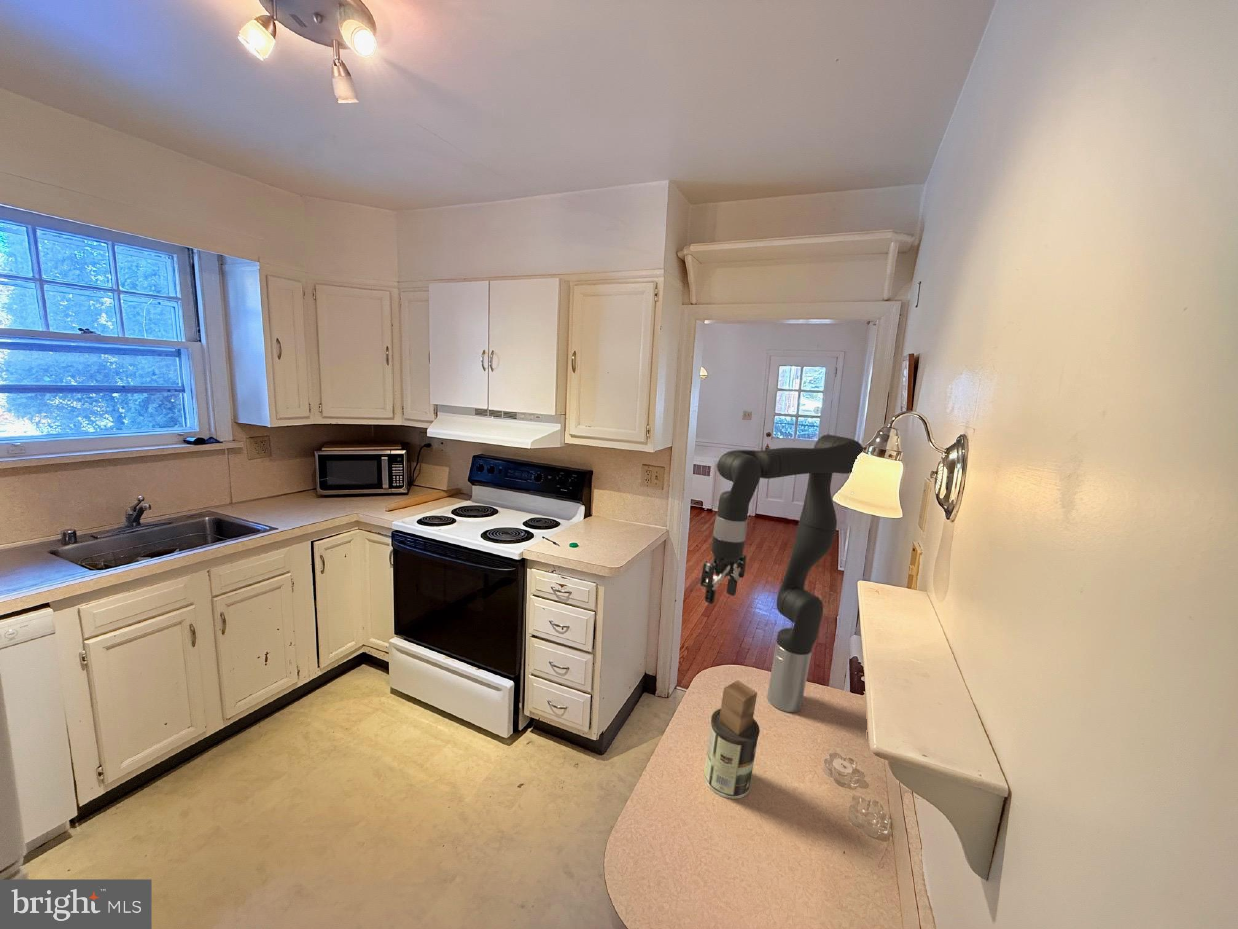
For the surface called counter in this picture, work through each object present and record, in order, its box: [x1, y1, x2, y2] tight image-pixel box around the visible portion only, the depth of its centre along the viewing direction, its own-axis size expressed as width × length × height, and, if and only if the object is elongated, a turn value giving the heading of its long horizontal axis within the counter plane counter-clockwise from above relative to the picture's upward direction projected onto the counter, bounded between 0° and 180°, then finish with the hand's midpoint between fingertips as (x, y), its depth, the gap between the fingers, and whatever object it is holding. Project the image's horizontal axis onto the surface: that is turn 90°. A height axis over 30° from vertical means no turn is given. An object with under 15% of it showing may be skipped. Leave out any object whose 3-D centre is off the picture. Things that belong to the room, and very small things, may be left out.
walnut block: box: [719, 679, 758, 735], centre depth 104 cm, size 5×5×8 cm
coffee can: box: [703, 708, 760, 800], centre depth 106 cm, size 10×10×14 cm
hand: (720, 598), depth 119 cm, fingers open, 8 cm apart
